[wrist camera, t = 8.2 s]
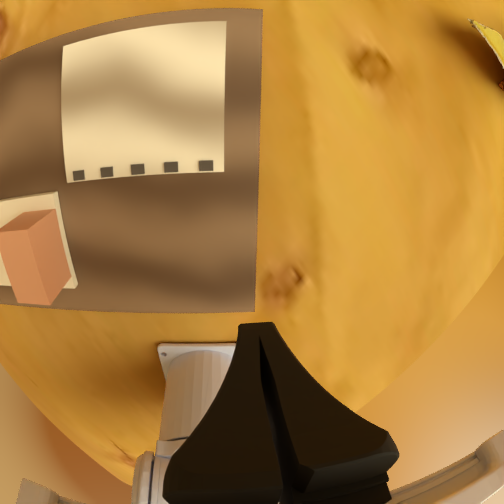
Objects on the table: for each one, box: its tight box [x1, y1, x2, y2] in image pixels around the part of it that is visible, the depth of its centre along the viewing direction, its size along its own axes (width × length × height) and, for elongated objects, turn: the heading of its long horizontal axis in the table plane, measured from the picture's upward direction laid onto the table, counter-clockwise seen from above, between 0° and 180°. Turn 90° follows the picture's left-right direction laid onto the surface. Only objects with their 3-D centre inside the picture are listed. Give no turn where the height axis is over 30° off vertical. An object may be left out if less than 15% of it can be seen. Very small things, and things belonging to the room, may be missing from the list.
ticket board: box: [0, 8, 263, 313], centre depth 16 cm, size 20×24×2 cm
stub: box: [0, 191, 78, 305], centre depth 15 cm, size 7×10×4 cm
